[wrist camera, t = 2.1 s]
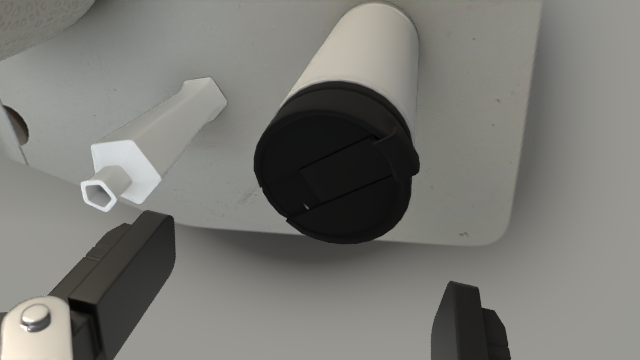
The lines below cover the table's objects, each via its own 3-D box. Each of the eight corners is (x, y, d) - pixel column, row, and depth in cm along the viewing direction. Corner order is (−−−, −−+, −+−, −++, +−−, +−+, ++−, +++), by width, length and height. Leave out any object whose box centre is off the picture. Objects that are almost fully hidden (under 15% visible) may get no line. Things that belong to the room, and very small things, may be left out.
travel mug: (439, 58, 34) (452, 221, 17) (360, 100, 36) (304, 276, 20) (397, -22, 32) (364, 73, 15) (316, 29, 34) (211, 159, 17)
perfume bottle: (231, 128, 40) (141, 235, 27) (182, 119, 40) (72, 221, 28) (231, 76, 37) (132, 168, 25) (179, 67, 38) (57, 153, 25)
